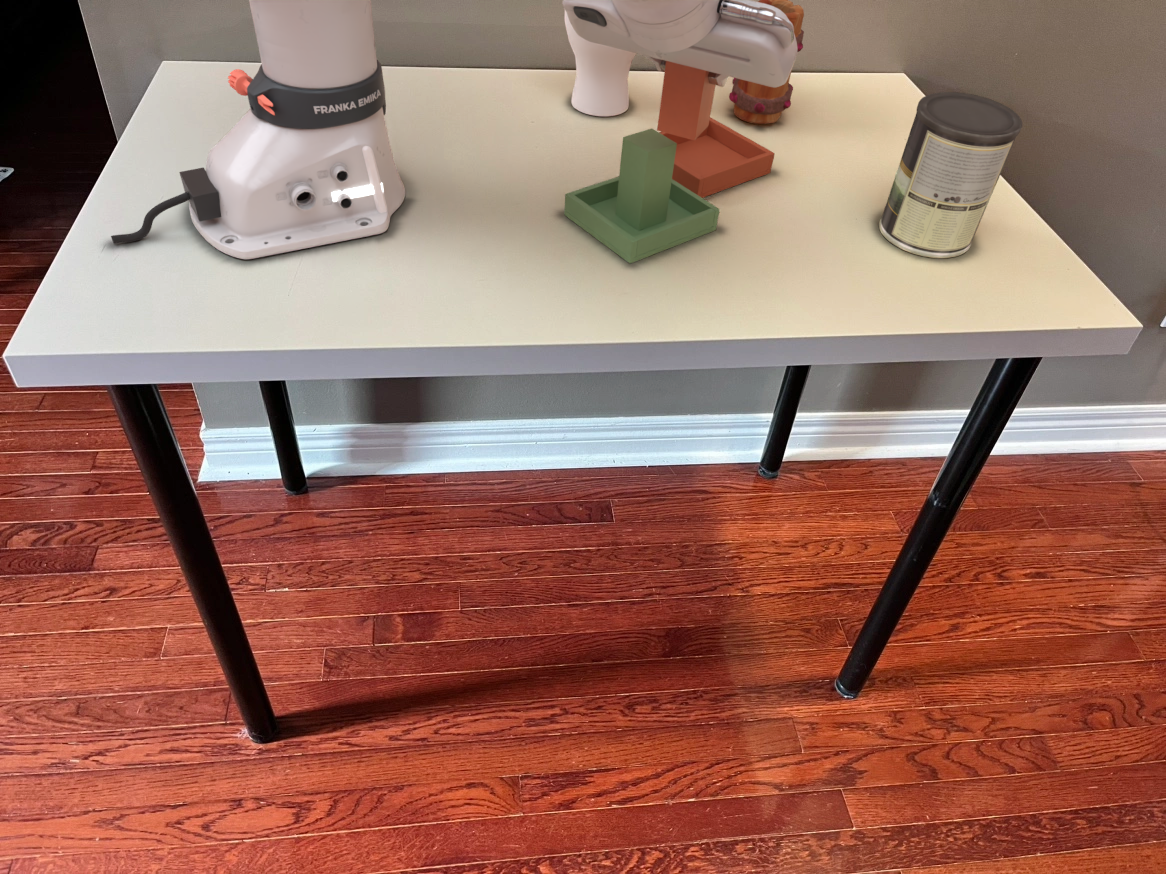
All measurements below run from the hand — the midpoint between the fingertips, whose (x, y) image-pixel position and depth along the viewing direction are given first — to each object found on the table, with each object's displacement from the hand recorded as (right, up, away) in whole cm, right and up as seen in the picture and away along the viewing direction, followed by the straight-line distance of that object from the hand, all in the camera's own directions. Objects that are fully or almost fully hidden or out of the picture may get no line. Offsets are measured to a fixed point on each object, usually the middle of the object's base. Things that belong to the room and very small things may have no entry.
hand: (693, 71), depth 84 cm
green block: (-4, -11, +12) cm, 17 cm away
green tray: (-4, -11, +13) cm, 18 cm away
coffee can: (+28, -12, +15) cm, 34 cm away
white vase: (-8, +10, +34) cm, 36 cm away
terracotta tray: (+4, -2, +23) cm, 24 cm away
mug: (+13, +10, +36) cm, 40 cm away
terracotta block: (-1, -4, +3) cm, 5 cm away
